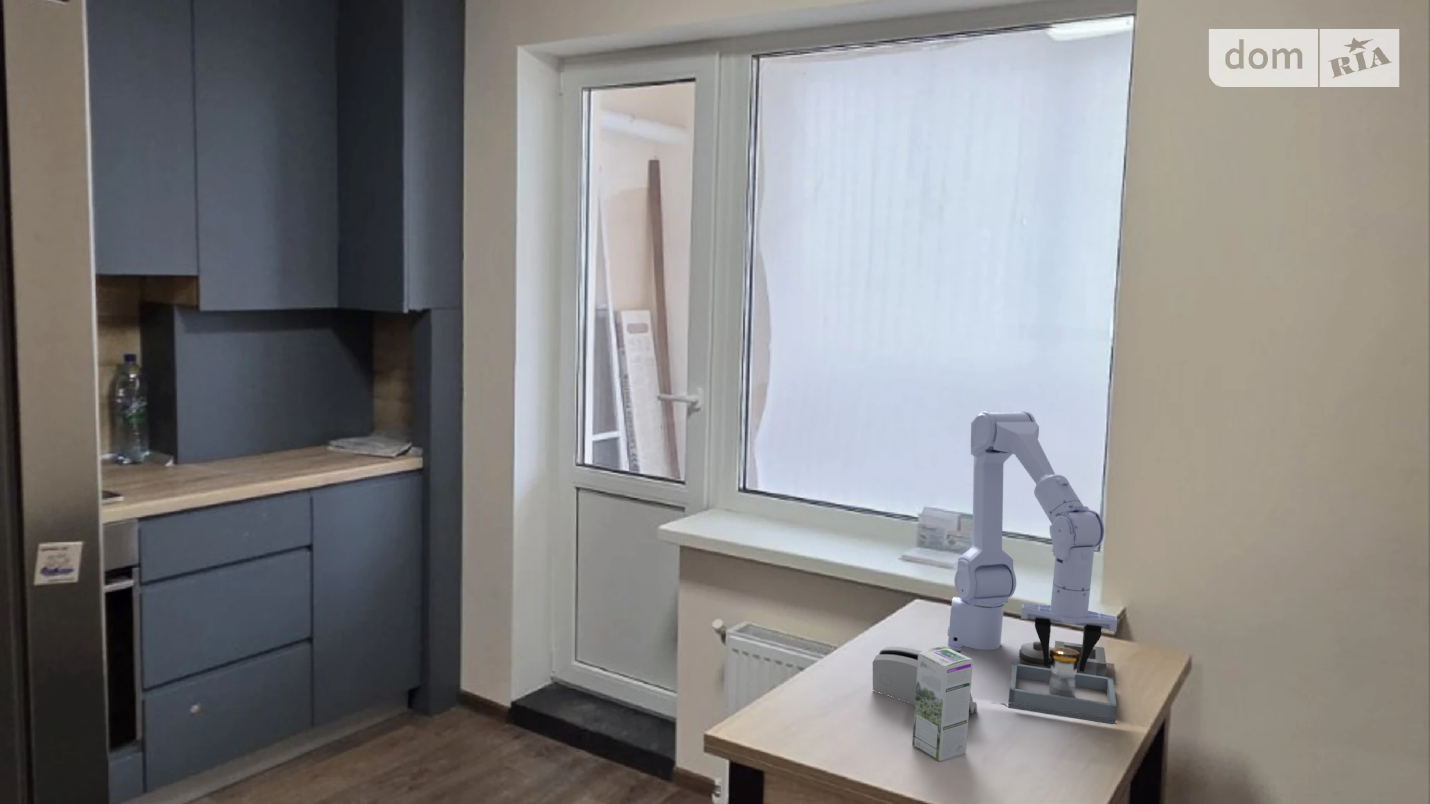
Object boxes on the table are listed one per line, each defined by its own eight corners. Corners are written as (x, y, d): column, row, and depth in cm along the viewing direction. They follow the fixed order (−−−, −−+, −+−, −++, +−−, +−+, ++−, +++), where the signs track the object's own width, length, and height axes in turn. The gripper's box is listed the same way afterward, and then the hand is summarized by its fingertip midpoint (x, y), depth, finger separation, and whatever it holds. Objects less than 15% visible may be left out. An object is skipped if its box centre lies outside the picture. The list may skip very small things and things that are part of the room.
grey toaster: (979, 712, 170) (974, 661, 166) (965, 731, 167) (960, 679, 163) (887, 681, 180) (880, 632, 176) (872, 698, 177) (865, 649, 173)
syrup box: (967, 754, 155) (975, 657, 153) (937, 763, 152) (945, 664, 150) (939, 738, 160) (946, 644, 158) (909, 746, 157) (916, 651, 155)
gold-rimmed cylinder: (1046, 697, 174) (1049, 656, 173) (1047, 685, 179) (1050, 645, 177) (1076, 701, 173) (1080, 660, 172) (1076, 689, 177) (1079, 649, 176)
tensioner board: (1017, 675, 186) (1019, 650, 185) (1019, 655, 195) (1021, 631, 194) (1116, 690, 181) (1118, 664, 180) (1113, 669, 190) (1115, 644, 190)
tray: (1008, 707, 172) (1009, 689, 172) (1010, 679, 183) (1012, 663, 183) (1114, 724, 168) (1116, 706, 167) (1110, 695, 179) (1112, 678, 178)
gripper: (1023, 586, 171) (1016, 668, 173) (1121, 599, 167) (1112, 682, 169) (1024, 574, 178) (1017, 653, 180) (1118, 586, 174) (1110, 666, 175)
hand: (1063, 666), depth 175 cm, fingers open, 5 cm apart
